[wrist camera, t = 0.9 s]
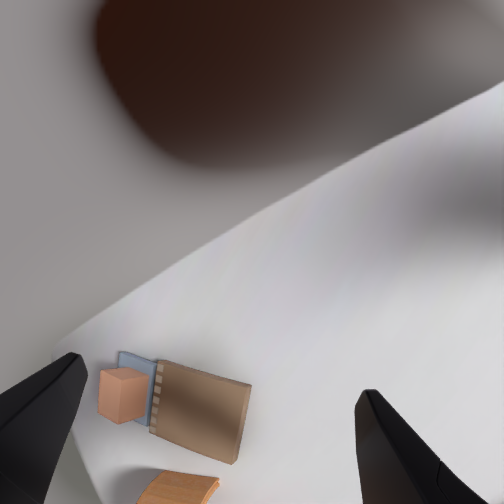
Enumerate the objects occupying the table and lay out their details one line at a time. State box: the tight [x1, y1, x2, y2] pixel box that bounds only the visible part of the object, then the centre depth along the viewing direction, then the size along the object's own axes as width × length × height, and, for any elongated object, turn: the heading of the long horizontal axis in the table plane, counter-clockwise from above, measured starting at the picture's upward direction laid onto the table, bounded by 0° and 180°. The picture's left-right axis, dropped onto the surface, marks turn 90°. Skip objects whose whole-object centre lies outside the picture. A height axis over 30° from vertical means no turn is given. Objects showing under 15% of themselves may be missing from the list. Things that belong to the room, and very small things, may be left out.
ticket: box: [149, 360, 252, 465], centre depth 22 cm, size 7×8×1 cm
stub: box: [98, 352, 157, 427], centre depth 23 cm, size 6×4×5 cm, turn 170°
